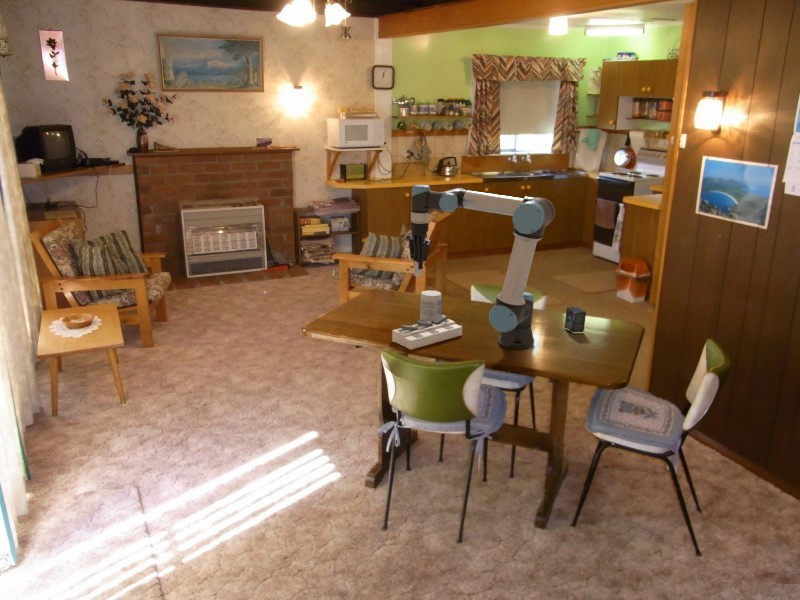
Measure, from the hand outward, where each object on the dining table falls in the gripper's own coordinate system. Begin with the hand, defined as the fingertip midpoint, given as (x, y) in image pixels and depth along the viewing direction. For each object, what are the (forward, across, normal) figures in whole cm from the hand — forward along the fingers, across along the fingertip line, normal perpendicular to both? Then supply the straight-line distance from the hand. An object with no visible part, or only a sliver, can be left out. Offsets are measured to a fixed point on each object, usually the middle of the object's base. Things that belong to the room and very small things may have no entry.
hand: (417, 275), depth 299 cm
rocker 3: (+21, -6, -9) cm, 23 cm away
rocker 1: (+21, -6, +9) cm, 23 cm away
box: (+27, -40, -61) cm, 78 cm away
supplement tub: (+27, +6, -14) cm, 31 cm away
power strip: (+26, -8, -3) cm, 28 cm away
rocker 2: (+21, -6, 0) cm, 21 cm away
